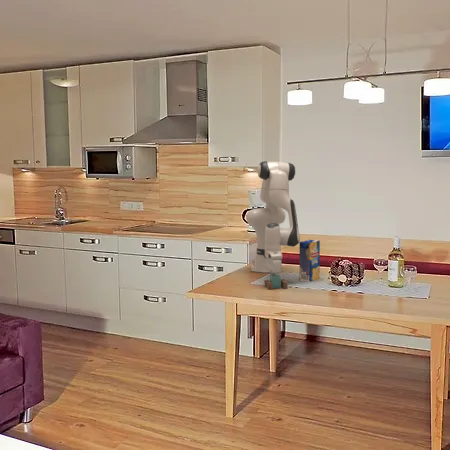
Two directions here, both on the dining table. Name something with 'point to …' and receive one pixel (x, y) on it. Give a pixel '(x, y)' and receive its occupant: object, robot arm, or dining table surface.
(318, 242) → the beverage box
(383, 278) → the dining table surface
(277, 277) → the block
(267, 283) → the chute
